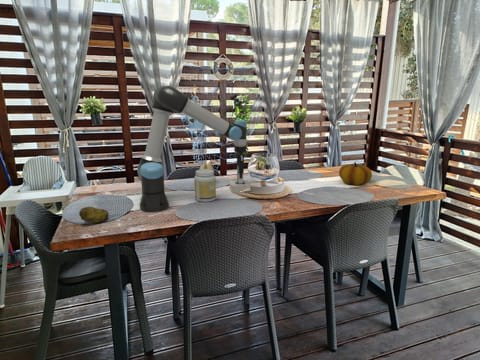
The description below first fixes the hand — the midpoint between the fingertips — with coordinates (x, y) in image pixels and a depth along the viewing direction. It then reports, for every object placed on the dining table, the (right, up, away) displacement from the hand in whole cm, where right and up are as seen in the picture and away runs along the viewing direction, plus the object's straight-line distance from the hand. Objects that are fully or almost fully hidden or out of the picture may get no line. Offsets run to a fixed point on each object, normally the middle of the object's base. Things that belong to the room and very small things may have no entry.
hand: (240, 181), depth 207 cm
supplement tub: (-20, -10, -17) cm, 29 cm away
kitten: (-23, -1, +15) cm, 27 cm away
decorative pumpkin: (+79, -1, +19) cm, 81 cm away
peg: (0, -4, +1) cm, 4 cm away
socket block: (0, -5, +1) cm, 5 cm away
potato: (-69, -19, -52) cm, 88 cm away
